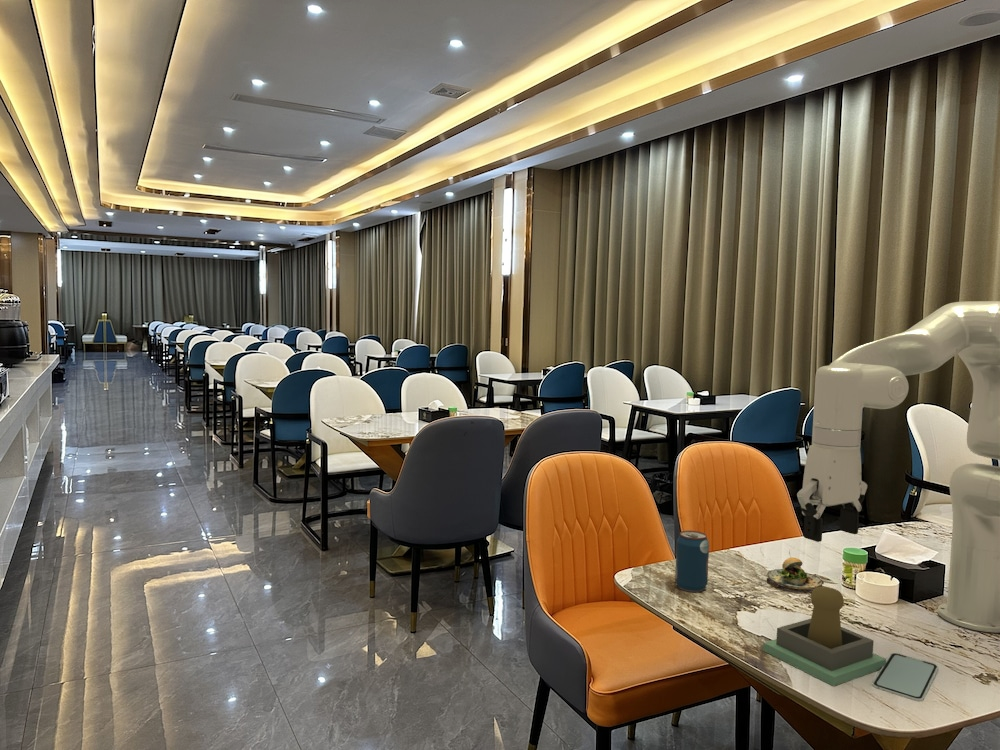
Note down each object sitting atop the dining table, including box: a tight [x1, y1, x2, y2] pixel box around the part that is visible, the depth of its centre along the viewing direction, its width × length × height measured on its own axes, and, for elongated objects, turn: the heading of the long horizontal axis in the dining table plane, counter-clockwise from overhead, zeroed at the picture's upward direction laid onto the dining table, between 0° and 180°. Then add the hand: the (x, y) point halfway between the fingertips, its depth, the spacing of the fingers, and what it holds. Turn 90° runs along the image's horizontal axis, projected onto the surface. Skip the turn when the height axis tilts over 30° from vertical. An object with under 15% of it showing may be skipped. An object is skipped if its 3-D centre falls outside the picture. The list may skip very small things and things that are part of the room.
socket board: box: [762, 618, 887, 687], centre depth 124 cm, size 14×14×4 cm
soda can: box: [674, 530, 710, 593], centre depth 157 cm, size 7×7×12 cm
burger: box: [766, 550, 825, 591], centre depth 161 cm, size 12×12×8 cm
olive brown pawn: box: [807, 586, 845, 649], centre depth 124 cm, size 6×6×11 cm
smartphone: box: [871, 652, 939, 702], centre depth 119 cm, size 7×1×15 cm
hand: (830, 535), depth 123 cm, fingers open, 9 cm apart
